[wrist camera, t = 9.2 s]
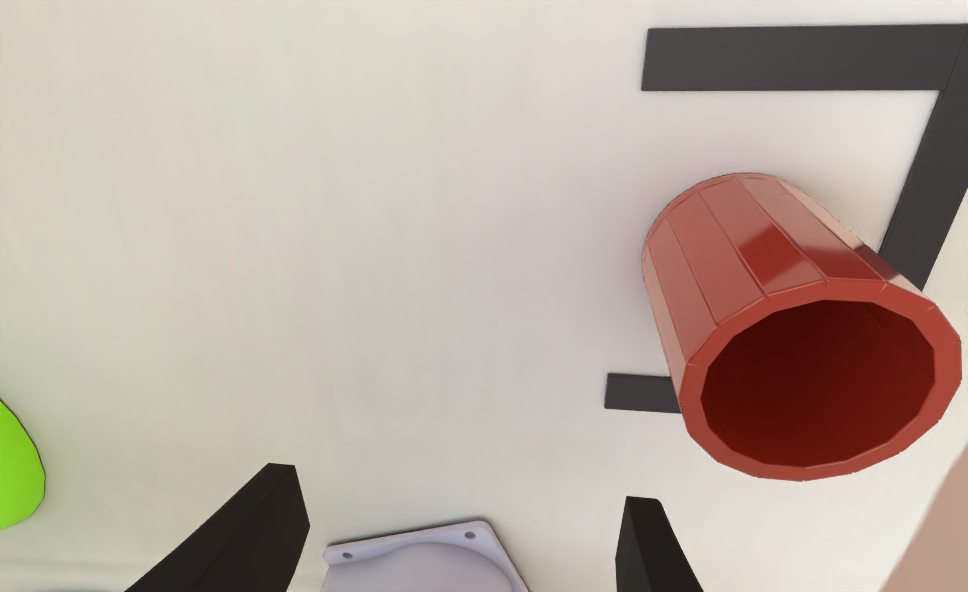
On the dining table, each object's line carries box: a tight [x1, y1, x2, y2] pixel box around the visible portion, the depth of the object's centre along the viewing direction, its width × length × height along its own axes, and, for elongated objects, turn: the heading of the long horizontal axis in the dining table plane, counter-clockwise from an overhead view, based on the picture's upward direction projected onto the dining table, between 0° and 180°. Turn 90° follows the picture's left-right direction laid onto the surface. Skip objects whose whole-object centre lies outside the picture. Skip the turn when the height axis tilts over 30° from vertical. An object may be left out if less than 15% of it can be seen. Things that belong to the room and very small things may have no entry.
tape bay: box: [604, 24, 968, 414], centre depth 18 cm, size 10×14×1 cm
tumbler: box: [642, 173, 962, 482], centre depth 15 cm, size 6×6×7 cm
